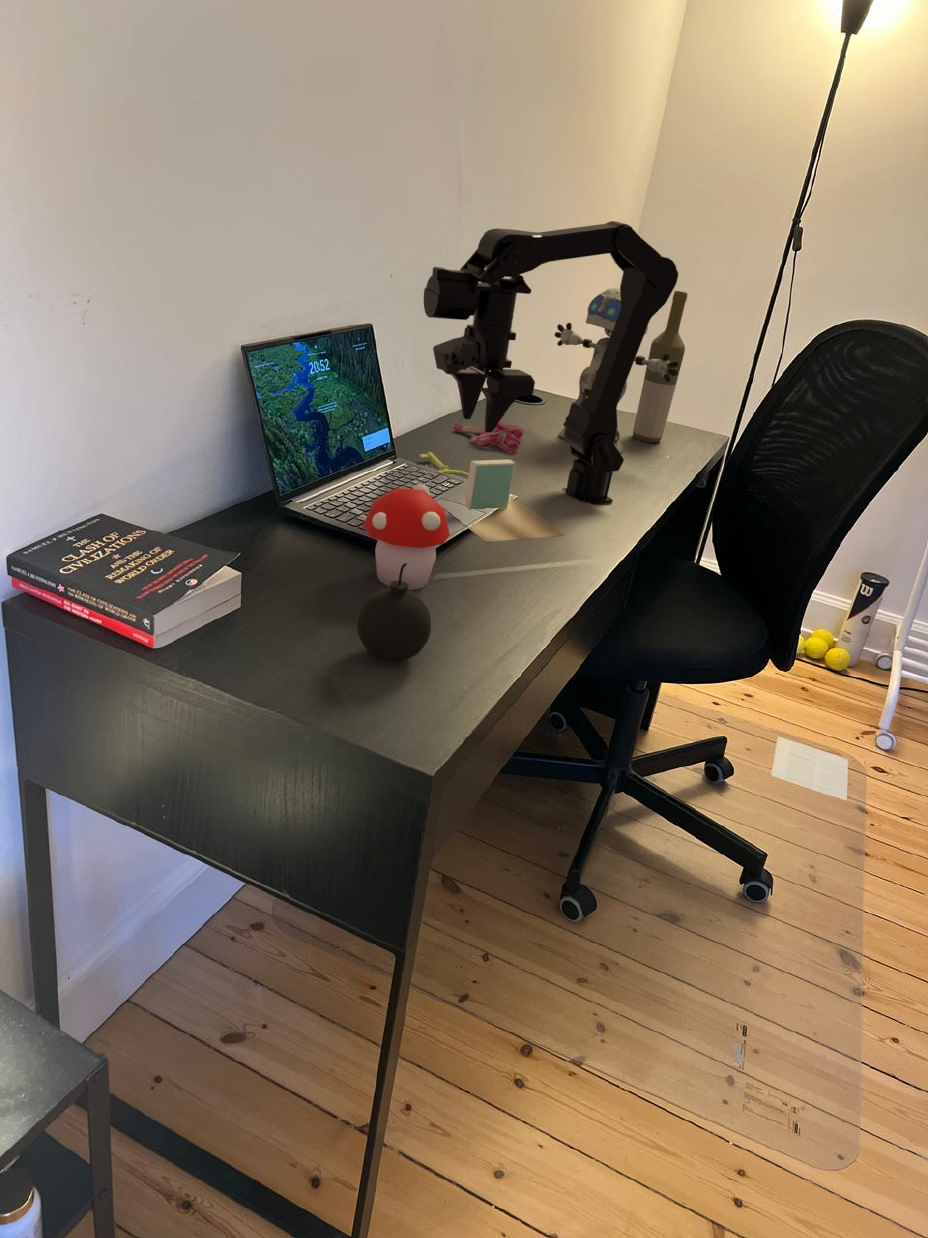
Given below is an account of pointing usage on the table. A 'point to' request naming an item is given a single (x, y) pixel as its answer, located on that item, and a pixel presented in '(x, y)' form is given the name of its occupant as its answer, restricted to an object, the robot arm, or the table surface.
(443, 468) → the key
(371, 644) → the bomb
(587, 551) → the table surface
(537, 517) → the mat
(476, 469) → the tile
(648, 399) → the bottle
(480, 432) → the toy
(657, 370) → the toy robot
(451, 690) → the table surface
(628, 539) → the table surface
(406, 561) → the mushroom
